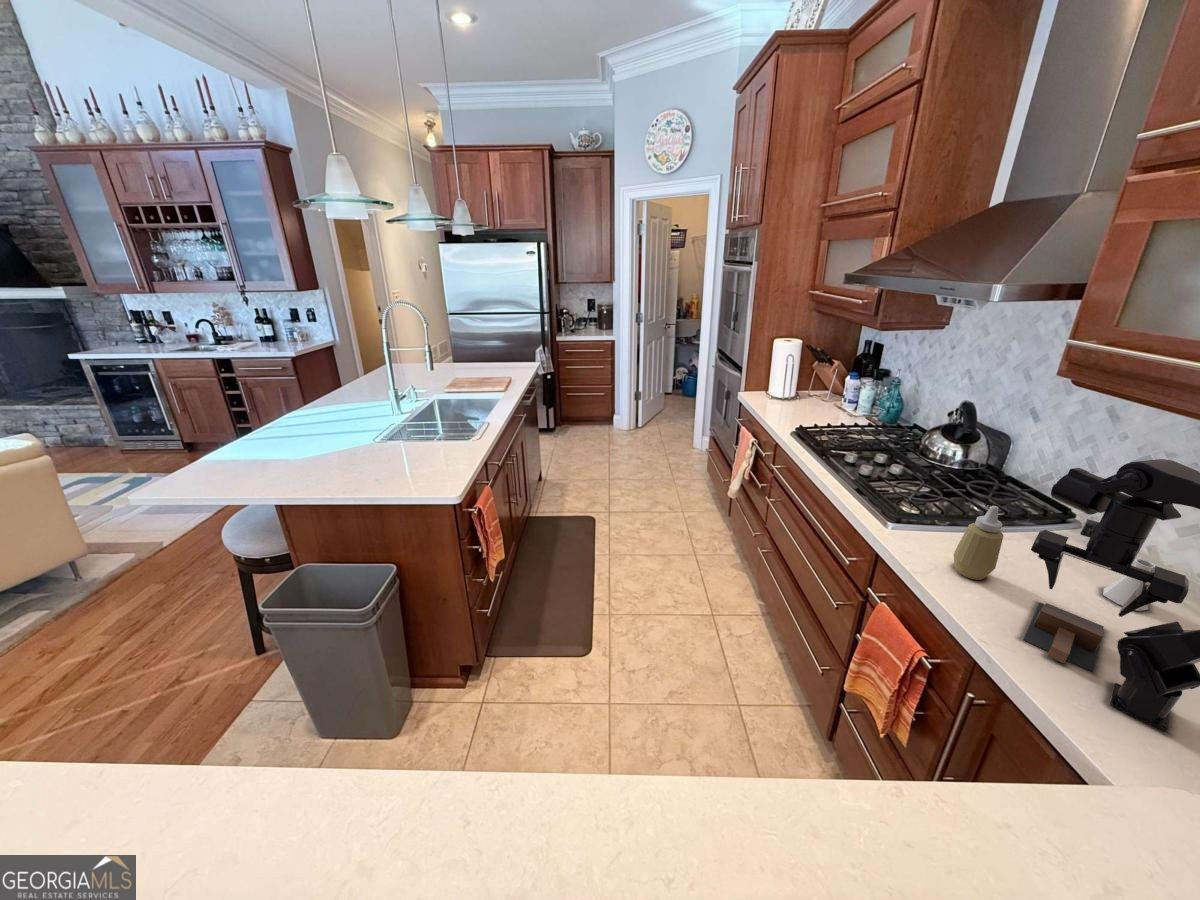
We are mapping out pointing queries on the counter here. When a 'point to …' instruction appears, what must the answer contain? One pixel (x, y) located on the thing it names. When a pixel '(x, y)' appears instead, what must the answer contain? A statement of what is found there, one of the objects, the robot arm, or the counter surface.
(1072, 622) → the brush
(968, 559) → the squeeze bottle
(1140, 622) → the counter surface
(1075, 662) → the mat
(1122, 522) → the robot arm
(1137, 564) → the flask
